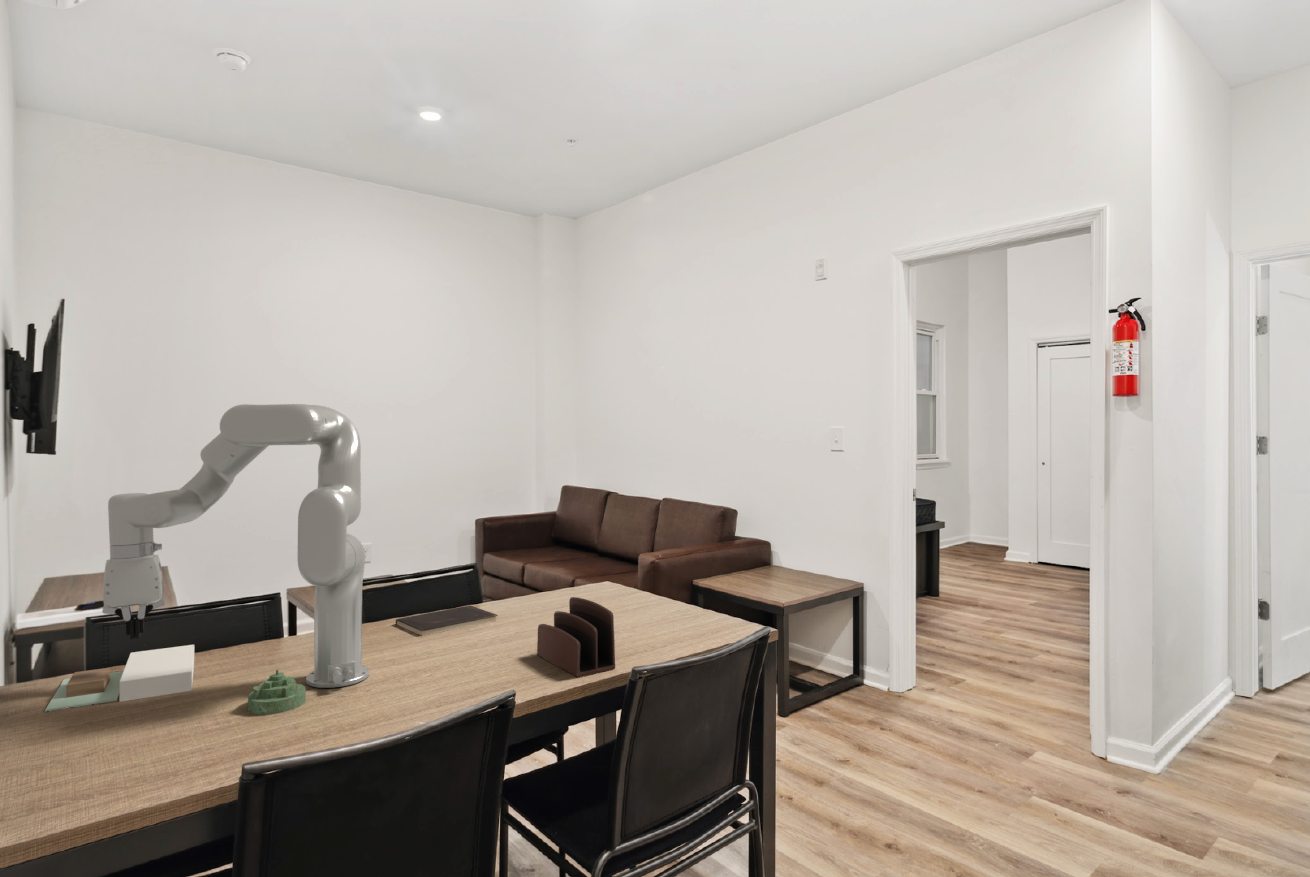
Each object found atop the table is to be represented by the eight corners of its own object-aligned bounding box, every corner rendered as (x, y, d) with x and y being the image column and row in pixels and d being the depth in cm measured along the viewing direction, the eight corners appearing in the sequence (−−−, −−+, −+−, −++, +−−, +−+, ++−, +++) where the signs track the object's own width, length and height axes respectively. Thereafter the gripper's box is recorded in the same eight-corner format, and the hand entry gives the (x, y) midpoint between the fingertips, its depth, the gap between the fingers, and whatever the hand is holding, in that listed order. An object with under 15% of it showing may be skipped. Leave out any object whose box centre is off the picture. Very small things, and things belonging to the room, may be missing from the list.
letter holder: (572, 648, 177) (572, 592, 177) (615, 670, 162) (616, 608, 161) (536, 656, 172) (536, 598, 171) (577, 679, 156) (578, 615, 155)
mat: (116, 700, 141) (116, 698, 141) (45, 712, 135) (45, 710, 135) (127, 672, 158) (127, 670, 158) (64, 681, 152) (64, 679, 152)
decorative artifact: (315, 696, 145) (267, 695, 145) (315, 662, 145) (267, 661, 145) (288, 716, 135) (236, 715, 135) (288, 679, 135) (236, 678, 135)
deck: (191, 690, 147) (191, 671, 147) (119, 702, 141) (119, 682, 141) (194, 661, 166) (194, 644, 166) (130, 670, 159) (130, 652, 159)
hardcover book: (497, 622, 203) (497, 614, 203) (421, 638, 187) (421, 630, 187) (469, 612, 214) (469, 604, 214) (395, 626, 198) (395, 618, 198)
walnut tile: (66, 685, 142) (66, 697, 142) (103, 680, 145) (103, 692, 145) (74, 672, 149) (74, 684, 149) (110, 667, 152) (110, 679, 152)
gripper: (175, 545, 158) (178, 627, 158) (90, 553, 150) (93, 639, 150) (173, 549, 151) (177, 635, 151) (84, 558, 143) (88, 648, 143)
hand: (135, 637), depth 151 cm, fingers closed
